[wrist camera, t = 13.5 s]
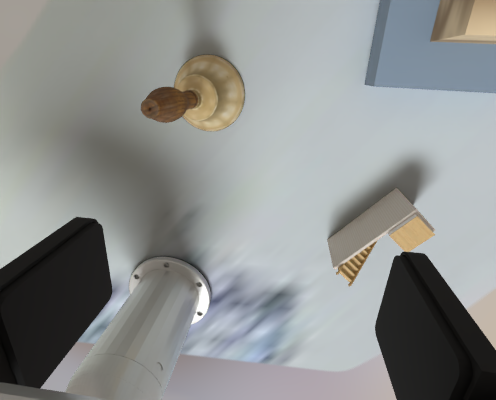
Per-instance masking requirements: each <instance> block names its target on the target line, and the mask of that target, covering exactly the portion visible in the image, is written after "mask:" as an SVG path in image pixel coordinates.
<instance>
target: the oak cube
mask: <svg viewBox="0 0 496 400" xmlns="http://www.w3.org/2000/svg"><path fill="white" fill-rule="evenodd" d="M430 42H453V43H478V44H496V0H440V3H439V7H438V11H437V15H436V19H435V23H434V27H433V31H432V35H431V39H430Z"/></svg>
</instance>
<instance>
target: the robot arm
mask: <svg viewBox="0 0 496 400" xmlns="http://www.w3.org/2000/svg"><path fill="white" fill-rule="evenodd" d="M129 292H130V296H129V297H128V299H127V300H126V302H125V303H124V304H123V306H122V307H121V309H120V310H119V311H118V313H117V314H116V316H115V317H114V318H113V320H112V321H111V323H110V324H109V325H108V327H107V328H106V330H105V331H104V332H103V334H102V335H101V337H100V338H99V339H98V341H97V342H96V344H95V345H94V347H93V348H92V349H91V351H90V352H89V353H88V355H87V356H86V358H85V359H84V361H83V362H82V363H81V365H80V366H79V367H78V369H77V370H76V372H75V373H74V375H73V376H72V378H71V380H70V382H69V384H68V387H67V389H66V393H65V392H59V391H52V390H46V389H40V388H41V386H42V385H43V384H44V382H45V381H46V380H47V379H48V377H49V376H50V375H51V374H52V372H53V371H54V370H55V369H56V367H57V366H58V365H59V364H60V362H61V361H62V360H63V358H64V357H65V356H66V355H67V353H68V352H69V351H70V350H71V348H72V347H73V346H74V344H75V343H76V342H77V341H78V339H79V338H80V337H81V336H82V334H83V333H84V332H85V330H86V329H87V328H88V327H89V325H90V324H91V323H92V321H93V320H94V319H95V318H96V316H97V315H98V314H99V313H100V311H101V310H102V309H103V307H104V306H105V305H106V304H107V302H108V301H109V300H110V298H111V295H112V284H111V278H110V272H109V265H108V259H107V253H106V247H105V240H104V234H103V228H102V226H101V224H98V222H97V220H95V219H91V218H81V217H76V218H74V219H73V220H71V221H70V222H68V223H67V224H65V225H64V226H62V227H61V228H59V229H58V230H57V231H55V232H54V233H52V234H51V235H49V236H48V237H46V238H45V239H43V240H42V241H41V242H39V243H38V244H36V245H35V246H33V247H32V248H30V249H29V250H28V251H26V252H25V253H23V254H22V255H20V256H19V257H17V258H16V259H14V260H13V261H12V262H10V263H9V264H7V265H6V266H4V267H3V268H1V269H0V400H162V398H163V395H164V393H165V390H166V387H167V385H168V383H169V380H170V377H171V375H172V372H173V370H174V367H175V365H176V362H177V359H178V357H179V354H180V352H181V349H182V347H183V344H184V342H185V339H186V336H187V334H188V331H189V329H190V326H191V325H192V324H194V323H196V322H198V321H199V320H201V319H202V318H203V317H204V315H205V314H206V313H207V310H208V308H209V305H210V301H211V292H210V288H209V285H208V283H207V281H206V279H205V278H204V277H203V275H202V274H201V273H200V272H199V271H198V270H197V269H196V268H194V267H193V266H191V265H190V264H188V263H186V262H184V261H182V260H179V259H176V258H171V257H155V258H151V259H148V260H146V261H144V262H143V263H141V264H140V265H139V266H138V267H137V268H136V269H135V271H134V272H133V273H132V275H131V278H130V281H129ZM375 331H376V337H377V340H378V343H379V346H380V349H381V352H382V355H383V358H384V361H385V364H386V368H387V371H388V373H389V377H390V380H391V383H392V386H393V389H394V392H395V395H396V399H397V400H496V350H495V349H494V347H493V346H492V344H491V343H490V342H489V340H488V339H487V338H486V336H485V335H484V334H483V332H482V331H481V330H480V328H479V327H478V325H477V324H476V323H475V321H474V320H473V319H472V317H471V316H470V314H469V313H468V312H467V310H466V309H465V308H464V306H463V305H462V303H461V302H460V301H459V299H458V298H457V297H456V295H455V294H454V293H453V291H452V290H451V288H450V287H449V286H448V284H447V283H446V282H445V280H444V279H443V277H442V276H441V275H440V273H439V272H438V271H437V269H436V268H435V267H434V265H433V264H432V262H431V261H430V260H429V258H428V257H427V256H426V255H425V254H423V253H413V252H402V253H401V255H400V256H395V257H394V260H393V263H392V267H391V270H390V274H389V278H388V281H387V285H386V288H385V292H384V295H383V299H382V303H381V306H380V310H379V313H378V317H377V320H376V325H375Z"/></svg>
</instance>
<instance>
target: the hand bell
mask: <svg viewBox="0 0 496 400" xmlns="http://www.w3.org/2000/svg"><path fill="white" fill-rule="evenodd" d="M244 99H245V92H244V85H243V82H242V79H241V77H240V75H239V73H238V72H237V70H236V69H235V68H234V67H233V66H232V65H231V64H230V63H229V62H228V61H226V60H225V59H223V58H221V57H218V56H214V55H200V56H196V57H194V58H192V59H190V60H189V61H187V62H186V63H185V64H184V65H183V66H182V68H181V69H180V70H179V72H178V74H177V77H176V80H175V84H174V88H172V87H161V88H158V89H155V90H154V91H152V92H151V93H150V94H149V95H148V96H147V98H146V99H145V100H144V101H143V102H142V104H141V111H142V113H143V114H144V115H145V116H146V117H147V118H152V119H154V120H156V121H159V122H164V123H167V122H172V121H175V120H177V119H179V118H180V117H182V116H183V117H184V119H185V120H186V121H187V122H188V123H190V124H191V125H193V126H194V127H196V128H198V129H201V130H205V131H218V130H222V129H224V128H226V127H228V126H229V125H231V124H232V123H233V122H234V121H235V120H236V119H237V118H238V116H239V115H240V113H241V111H242V108H243V105H244Z"/></svg>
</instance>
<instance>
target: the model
mask: <svg viewBox="0 0 496 400" xmlns="http://www.w3.org/2000/svg"><path fill="white" fill-rule="evenodd" d="M433 231H435V229H434V228H433V227H432V226H431V225H430V223H429V222H428V221H427V220H426V219H425V218H424V217H423V216H422V215H421V214H420V212H419V211H418V210H417V209H416V208H415V207H414V206H413V205H412V204H411V203H410V201H409V200H408V199H407V198H406V197H405V196H404V195H403V194H402V193H401V192H400V191H399V190H398V189H397V188H395V189H394V190H393V191H391V192H390V193H389V194H387V195H386V196H385V197H383V198H382V199H381V200H379V201H378V202H377V203H375V204H374V205H373V206H371V207H370V208H369V209H367V210H366V211H365V212H363V213H362V214H361V215H359V216H358V217H357V218H356V219H354V220H353V221H352V222H350V223H349V224H348V225H346V226H345V227H344V228H342V229H341V230H340V231H338V232H337V233H336V234H334V235H333V236H332V237H330V238H329V239H328V240H327V241H328V245H329V250H330V255H331V259H332V264H333V268H334V269H335V270H336V269H337V268H338V272H336V275H338V274H339V273H340V274H341V275H342V276H343V277H344V278H345V279H347V280H348V281H349V282H350V283H349V284H348V285H349V286H351V285H352V283H353V281H354V280H355V278H356V276H357V275H358V273H359V271H360V269H361V268H362V266H363V264H364V262H365V261H366V259H367V257H368V256H369V254H370V252H371V250H372V249H373V247H374V245H375V244H376V242H377V240H378V239H380V238H381V237H383V236H384V235H386V234H387V233H388V234H389V236H390V237H391V238H392V239H393V240H394V241H395V242H396V243H397V244H398V245H399V246H400V247H401V248H402V249H403V250H404V251H405V252H409V251H411V250H412V249H414V248H415V247H417V246H418V245H420V244H422V243H423V242H425V241H426V240H428V239H429V238H431V237H432V236H434V235H435V234H434V233H433Z"/></svg>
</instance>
